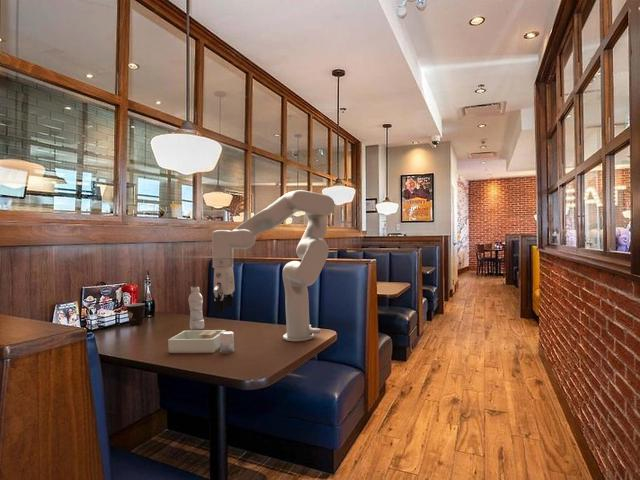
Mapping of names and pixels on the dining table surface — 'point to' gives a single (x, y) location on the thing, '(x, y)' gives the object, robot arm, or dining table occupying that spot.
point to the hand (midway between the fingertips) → (224, 309)
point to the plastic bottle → (196, 309)
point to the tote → (194, 342)
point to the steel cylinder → (226, 342)
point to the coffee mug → (136, 313)
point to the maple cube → (208, 335)
